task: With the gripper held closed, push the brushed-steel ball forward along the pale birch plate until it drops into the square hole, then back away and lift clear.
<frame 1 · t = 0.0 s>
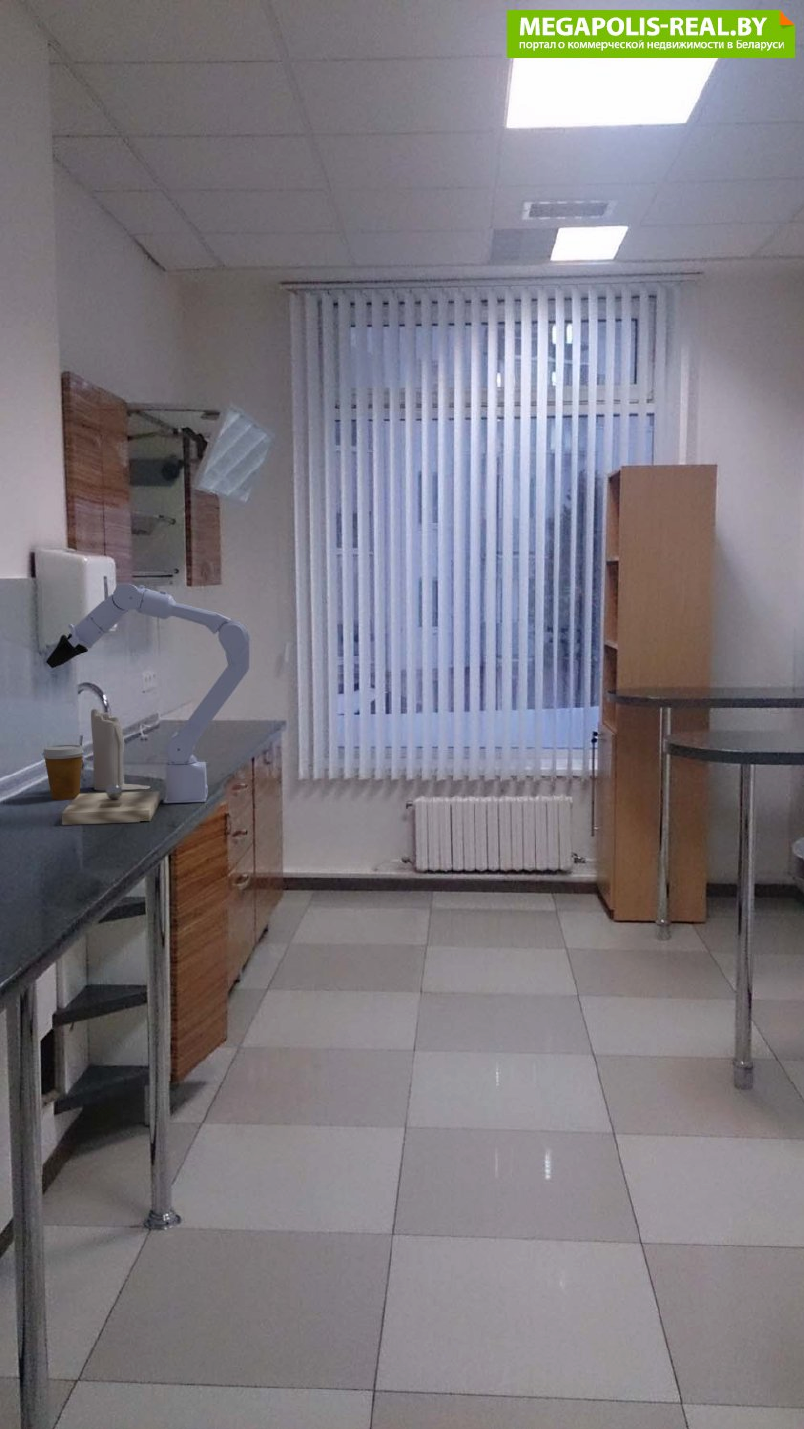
hand: (52, 664, 257), 32 cm above the table, tool tilted 50°, fingers open, 7 cm apart
steel ball: (114, 791, 252), point 4 cm above the table, touching birch plate
beige bookend: (122, 788, 281), on the table
birch plate: (113, 812, 250), on the table
disposable coffee cup: (65, 798, 269), on the table
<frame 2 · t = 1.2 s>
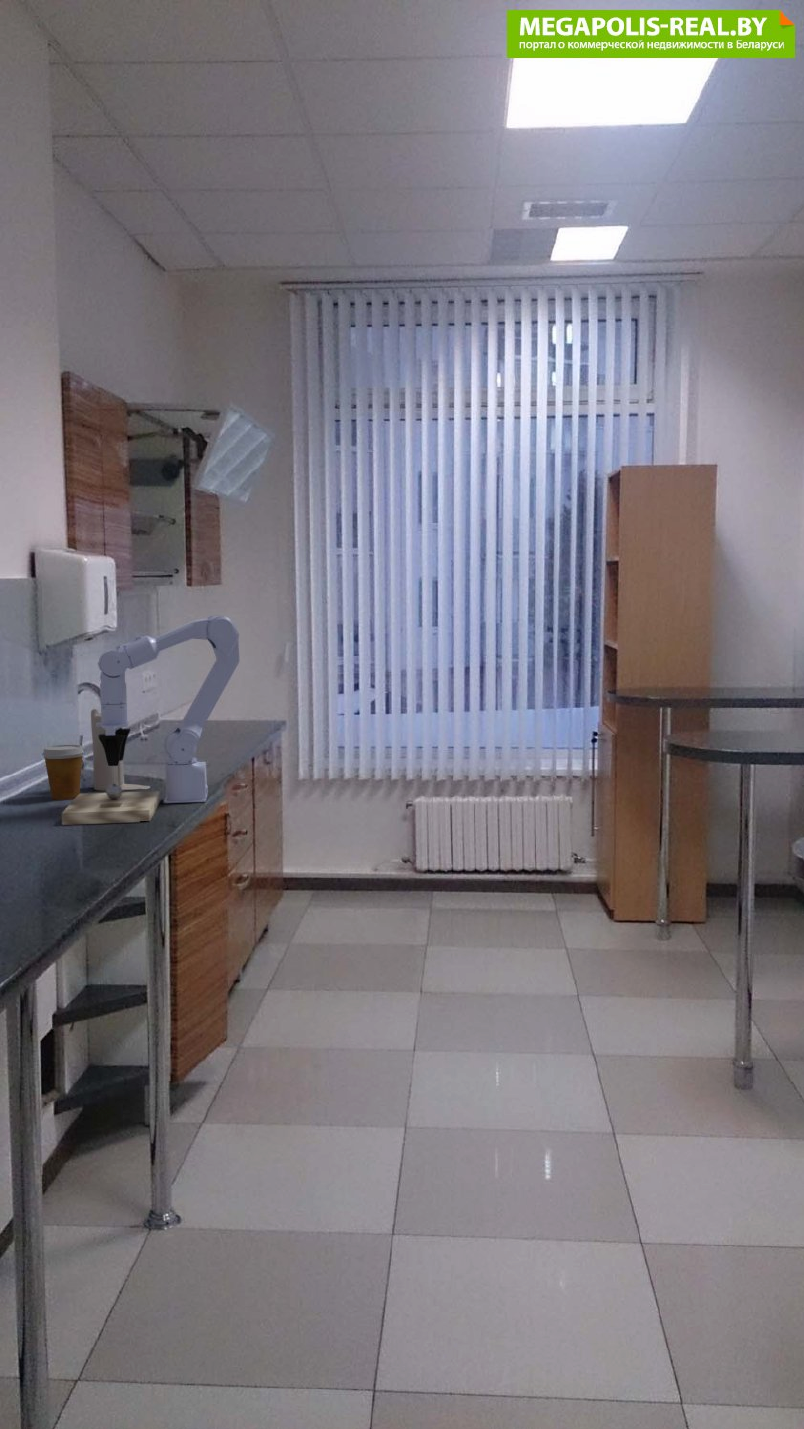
hand: (115, 763, 258), 10 cm above the table, tool pointing down, fingers open, 7 cm apart
nothing on the table moved.
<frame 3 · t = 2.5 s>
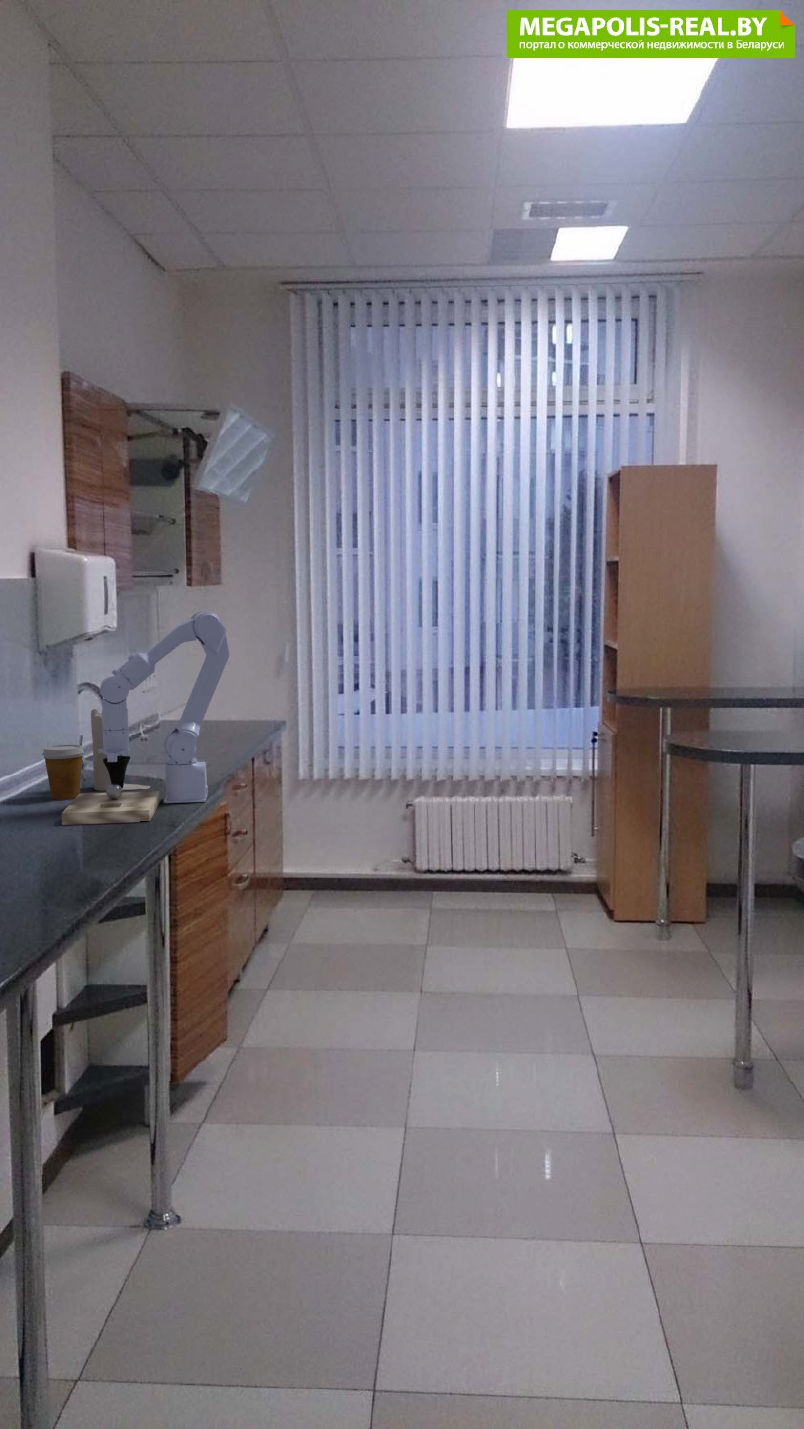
hand: (118, 788, 259), 4 cm above the table, tool pointing down, fingers closed
nothing on the table moved.
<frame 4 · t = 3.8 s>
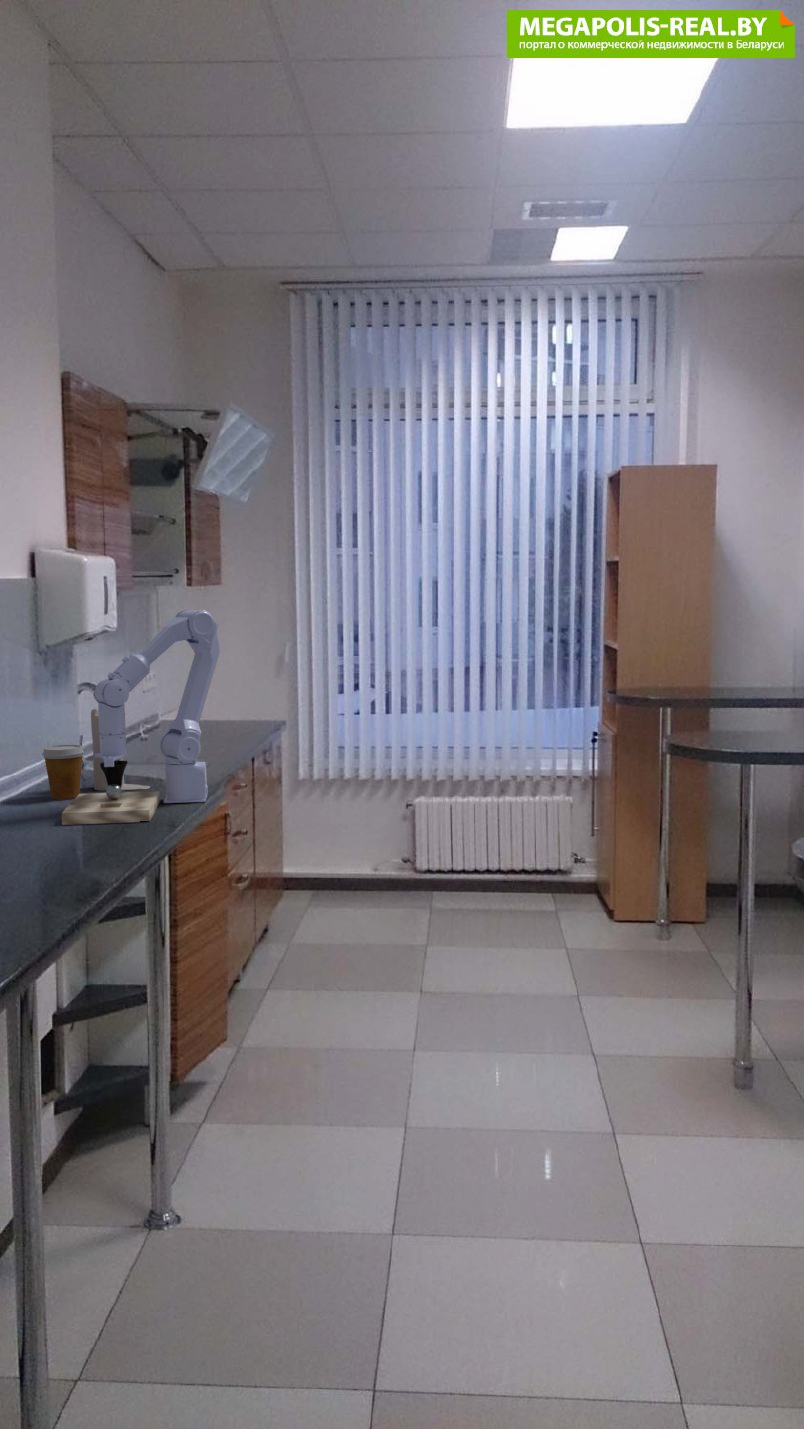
hand: (115, 793, 254), 3 cm above the table, tool pointing down, fingers closed, pressing on steel ball
steel ball: (114, 791, 252), point 4 cm above the table, tilted 6°, touching birch plate, gripper
everything else where it was.
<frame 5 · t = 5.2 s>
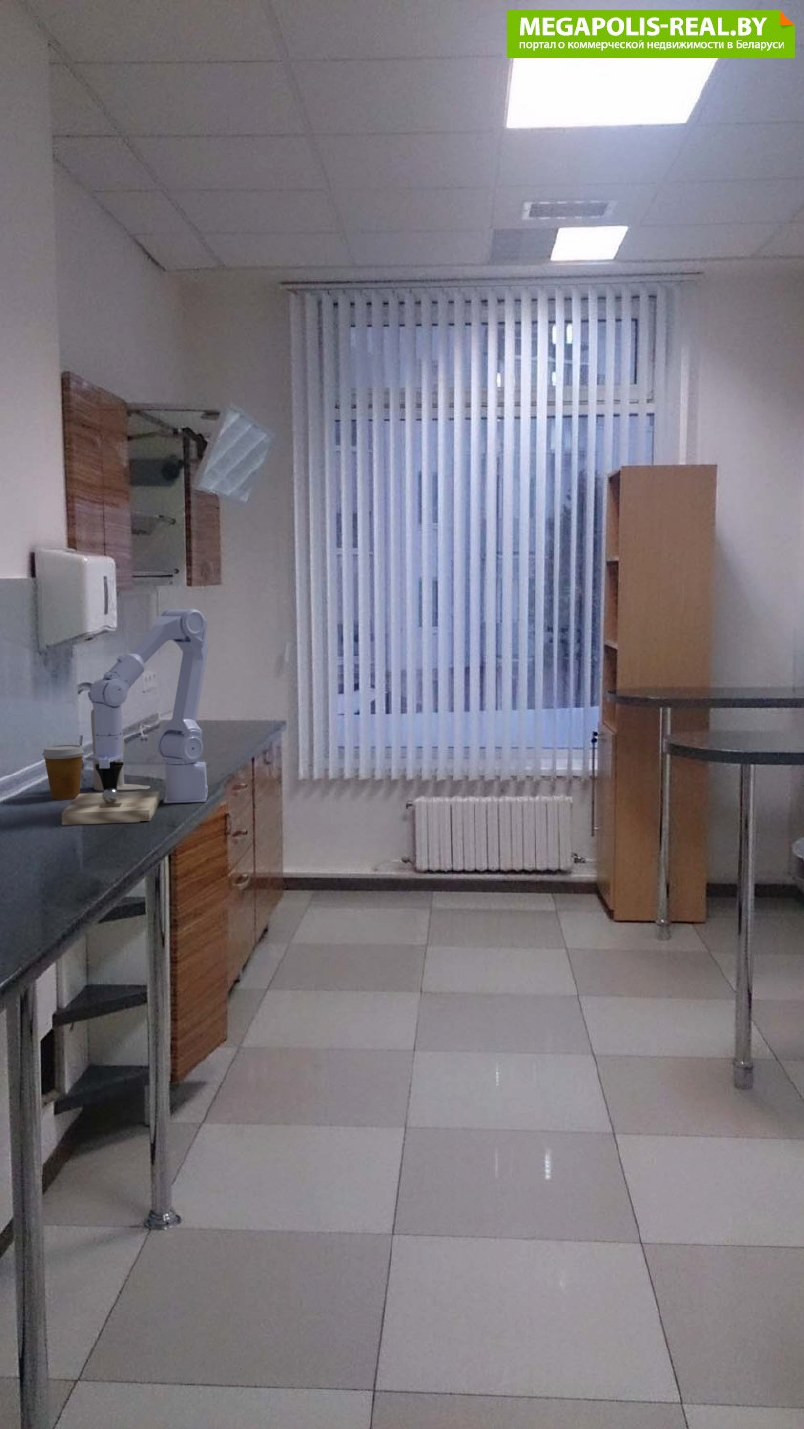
hand: (110, 795, 249), 4 cm above the table, tool pointing down, fingers closed, pressing on steel ball
steel ball: (110, 795, 248), point 4 cm above the table, tilted 148°, touching birch plate, gripper
everything else where it was.
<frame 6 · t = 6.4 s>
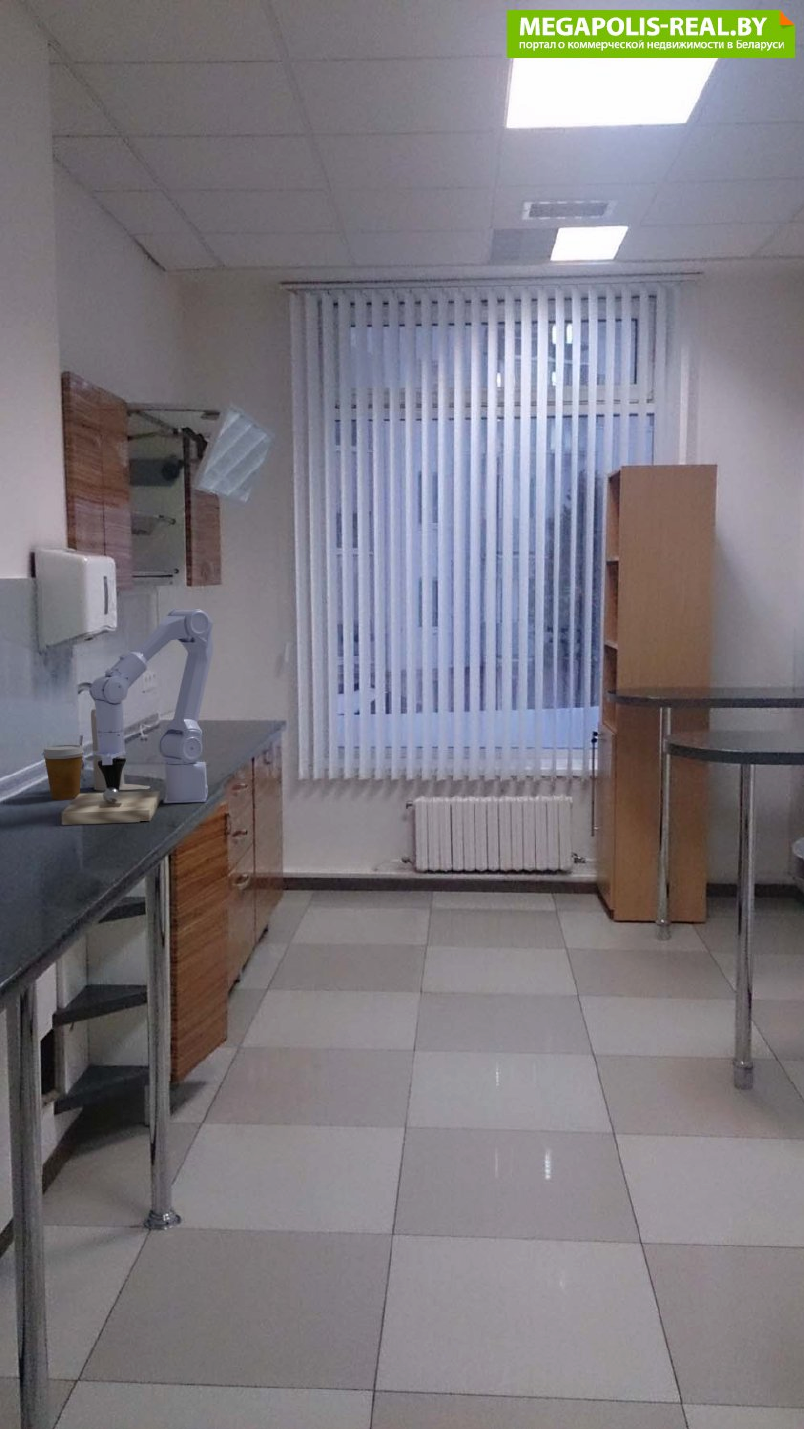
hand: (113, 792, 251), 4 cm above the table, tool pointing down, fingers closed
steel ball: (111, 795, 248), point 4 cm above the table, tilted 148°, touching birch plate
everything else where it was.
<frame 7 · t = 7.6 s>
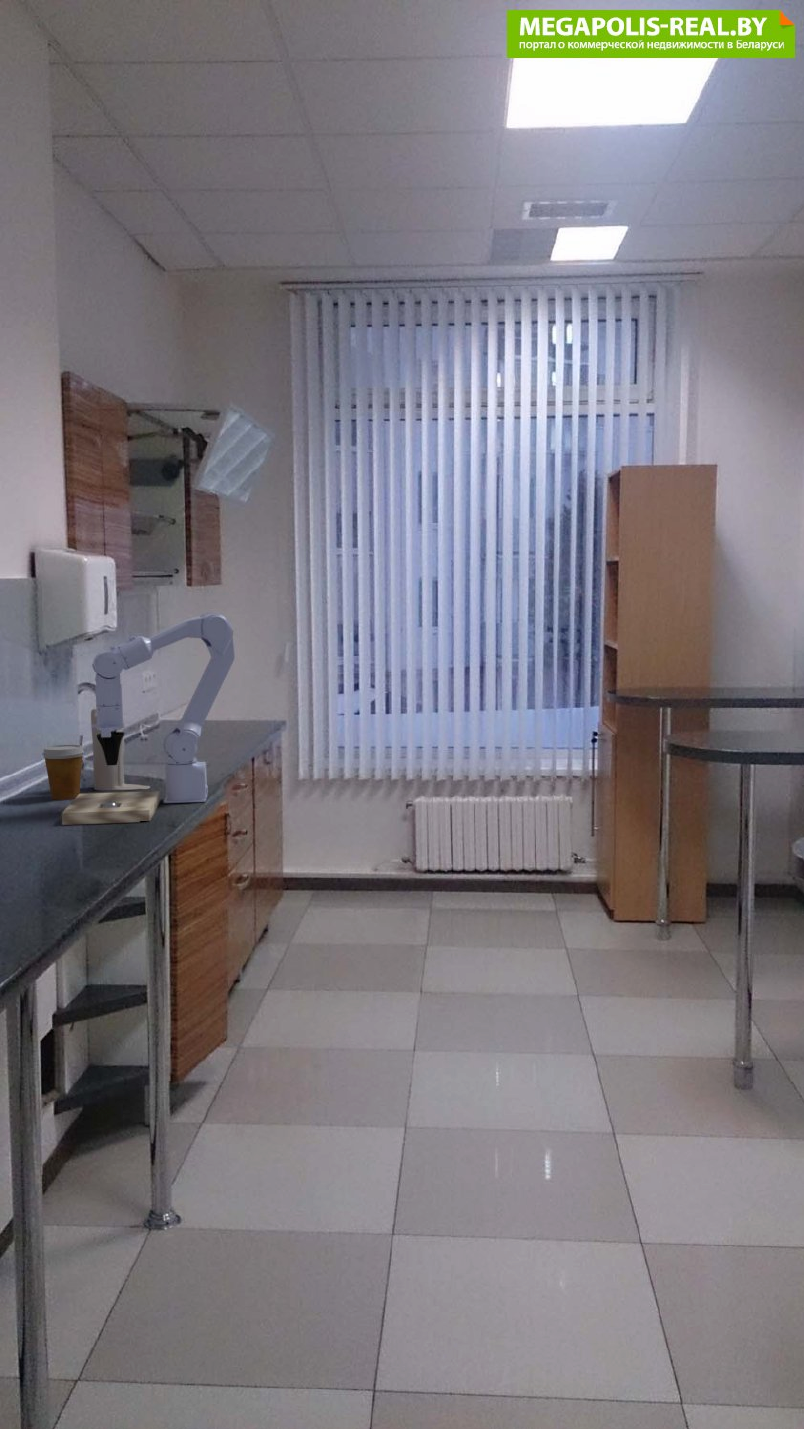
hand: (112, 764, 257), 9 cm above the table, tool pointing down, fingers closed
steel ball: (110, 809, 245), point 2 cm above the table, tilted 77°
everything else where it was.
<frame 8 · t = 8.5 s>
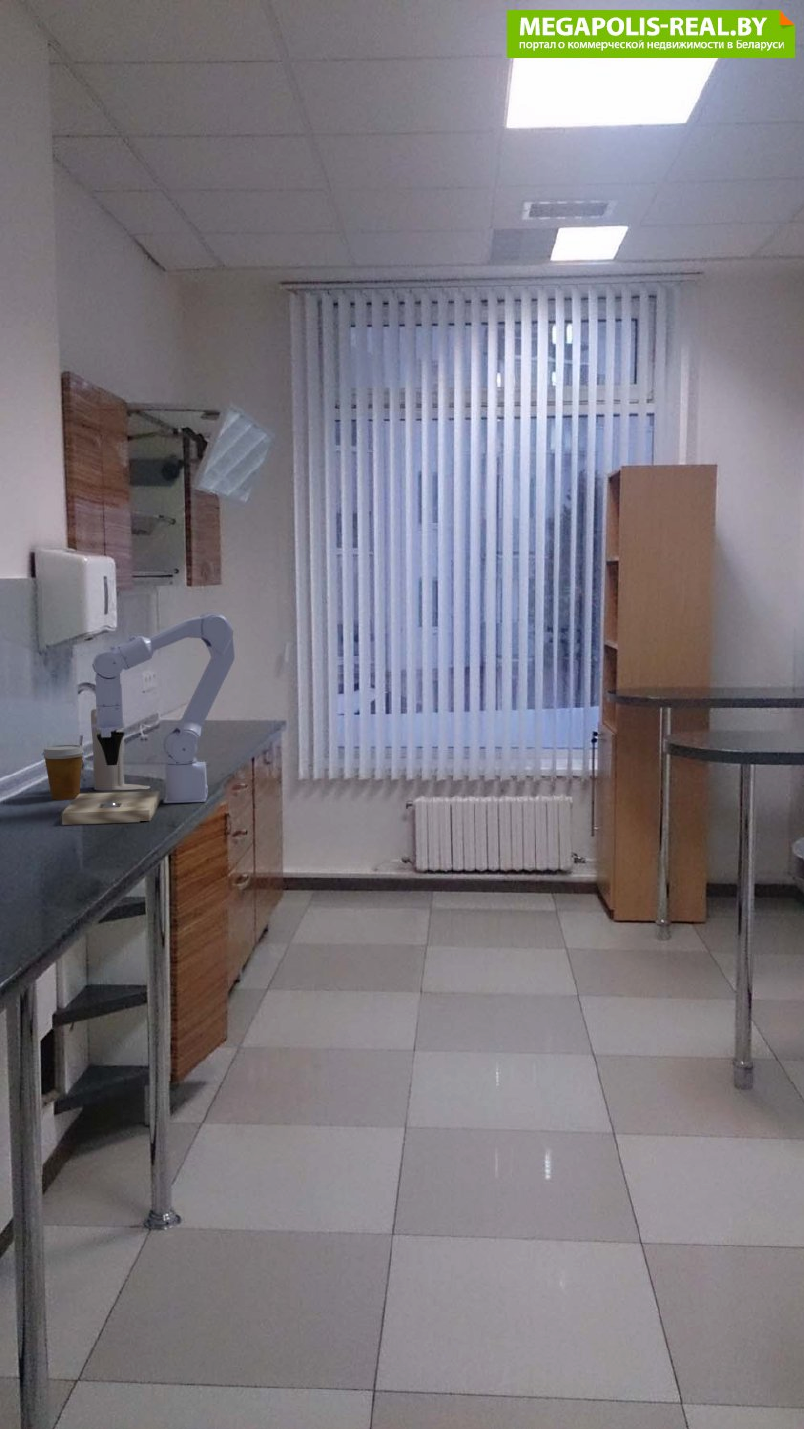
hand: (112, 764, 257), 9 cm above the table, tool pointing down, fingers closed
steel ball: (110, 809, 245), point 2 cm above the table, tilted 83°
everything else where it was.
at the end: steel ball 0.2 cm from the target spot on the birch plate, point 1.7 cm above the birch plate's base; steel ball point 1.7 cm above the table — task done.
